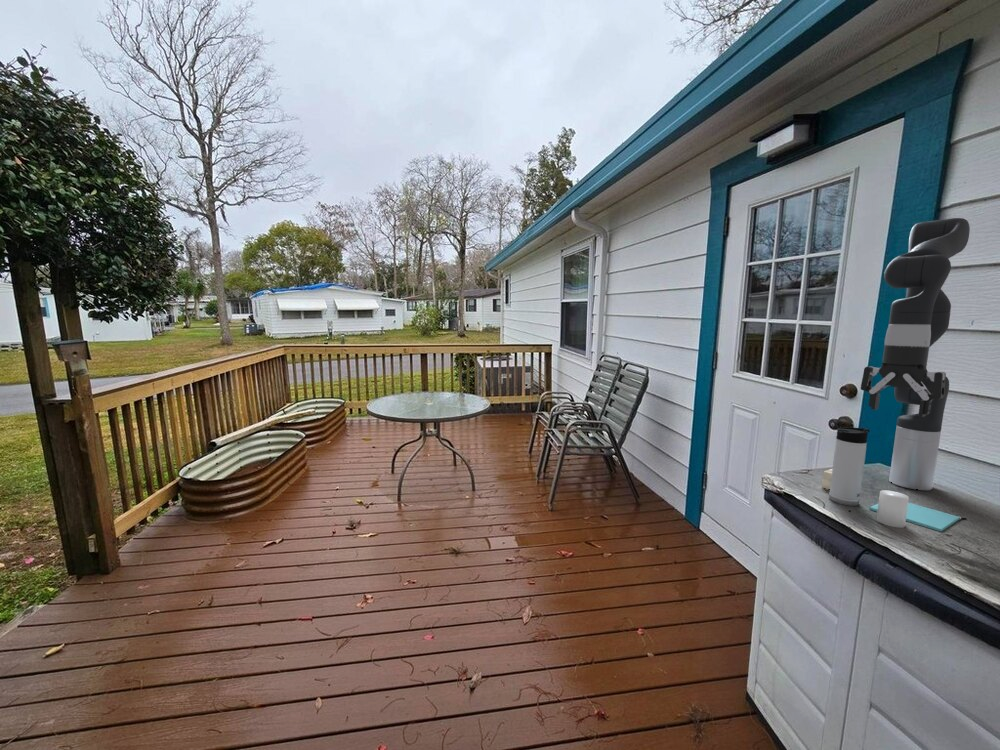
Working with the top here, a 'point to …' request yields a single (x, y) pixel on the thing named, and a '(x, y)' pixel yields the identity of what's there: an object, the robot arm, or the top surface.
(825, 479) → the birch block
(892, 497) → the white plastic capsule
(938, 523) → the teal mat
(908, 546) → the top surface
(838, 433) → the travel mug
